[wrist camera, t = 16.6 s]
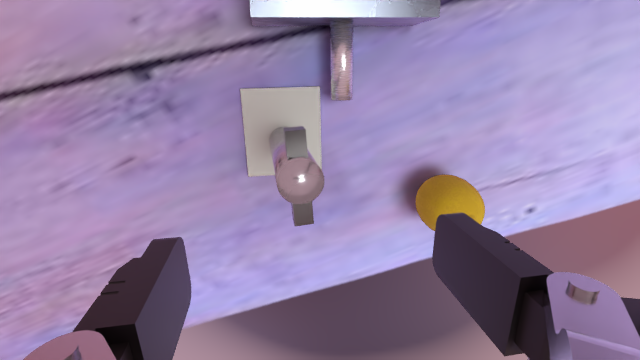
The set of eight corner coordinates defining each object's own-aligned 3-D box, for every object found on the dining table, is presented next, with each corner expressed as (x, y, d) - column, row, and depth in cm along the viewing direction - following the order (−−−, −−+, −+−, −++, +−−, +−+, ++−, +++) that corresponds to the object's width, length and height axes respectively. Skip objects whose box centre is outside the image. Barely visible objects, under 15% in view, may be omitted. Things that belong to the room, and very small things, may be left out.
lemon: (402, 170, 34) (441, 197, 26) (453, 161, 35) (505, 187, 27) (404, 218, 36) (441, 257, 28) (452, 210, 36) (500, 246, 29)
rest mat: (240, 88, 29) (240, 88, 29) (319, 86, 30) (319, 86, 30) (248, 175, 32) (248, 176, 31) (321, 170, 33) (321, 171, 32)
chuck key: (296, 107, 30) (320, 129, 19) (302, 170, 32) (327, 224, 21) (265, 110, 30) (270, 134, 18) (273, 173, 31) (282, 231, 20)
